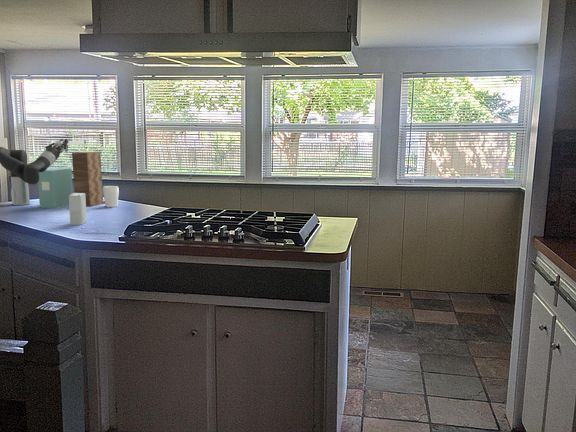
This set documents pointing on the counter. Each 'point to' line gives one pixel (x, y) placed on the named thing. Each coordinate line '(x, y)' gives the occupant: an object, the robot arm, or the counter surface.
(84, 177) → the stand
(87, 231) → the counter surface
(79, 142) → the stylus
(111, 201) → the cup
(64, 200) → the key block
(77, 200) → the skincare box
